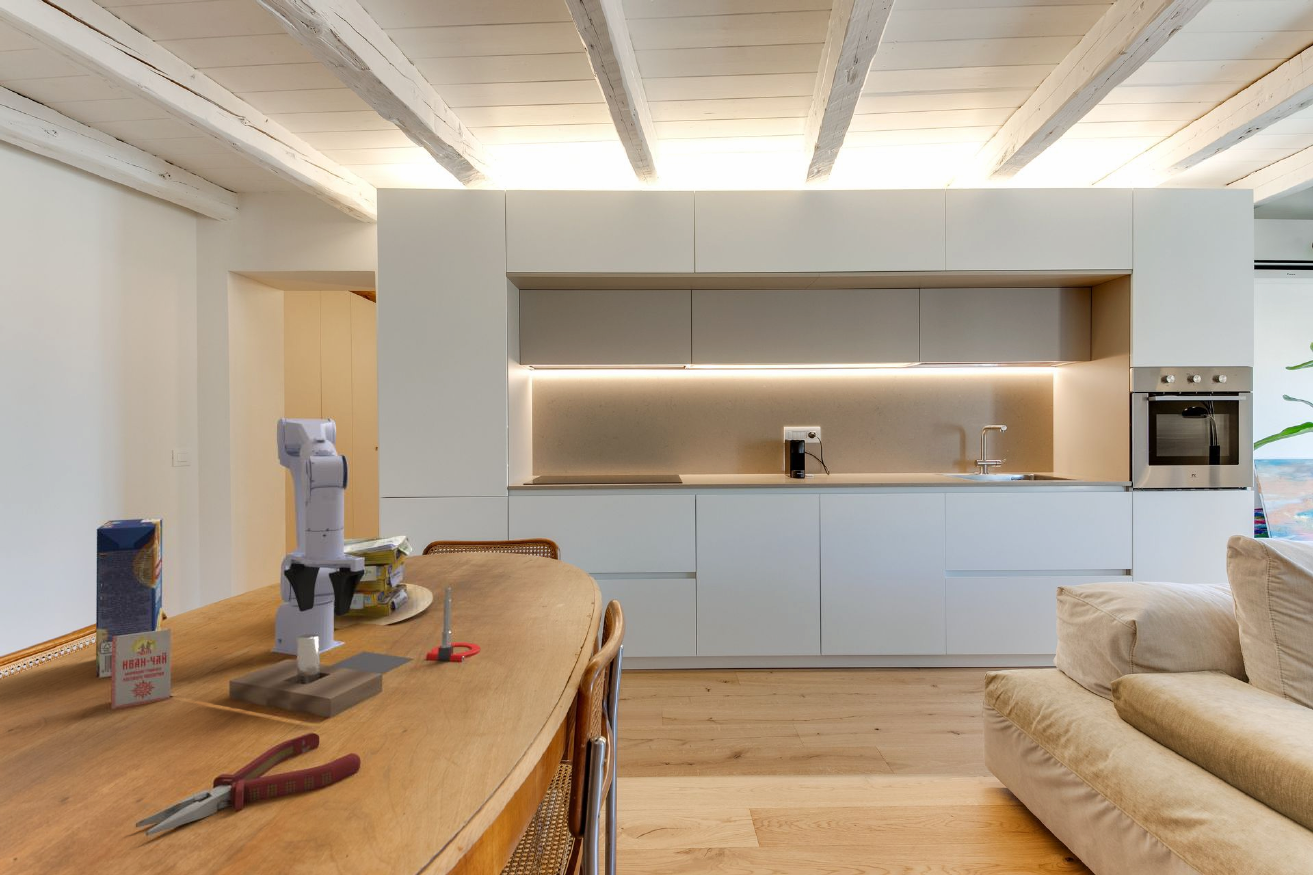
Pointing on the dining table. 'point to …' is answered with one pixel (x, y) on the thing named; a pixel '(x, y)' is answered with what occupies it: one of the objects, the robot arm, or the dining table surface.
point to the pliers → (256, 784)
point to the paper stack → (382, 584)
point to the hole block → (306, 688)
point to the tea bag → (140, 668)
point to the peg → (307, 658)
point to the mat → (372, 662)
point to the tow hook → (446, 649)
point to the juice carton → (127, 583)
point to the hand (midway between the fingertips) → (324, 611)
